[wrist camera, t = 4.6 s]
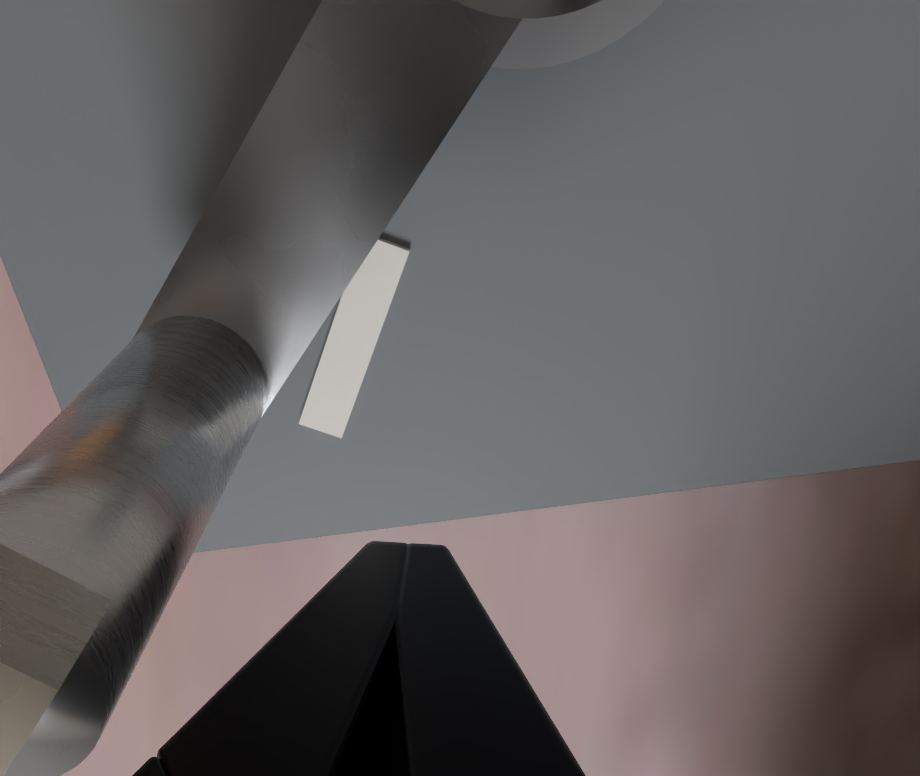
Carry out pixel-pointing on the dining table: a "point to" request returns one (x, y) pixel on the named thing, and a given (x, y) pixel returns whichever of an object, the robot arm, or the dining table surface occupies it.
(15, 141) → the crank bed
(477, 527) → the dining table surface
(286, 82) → the crank
